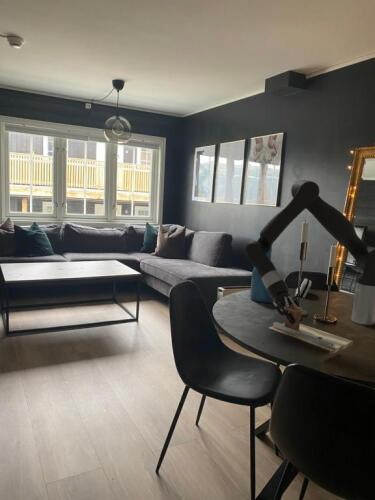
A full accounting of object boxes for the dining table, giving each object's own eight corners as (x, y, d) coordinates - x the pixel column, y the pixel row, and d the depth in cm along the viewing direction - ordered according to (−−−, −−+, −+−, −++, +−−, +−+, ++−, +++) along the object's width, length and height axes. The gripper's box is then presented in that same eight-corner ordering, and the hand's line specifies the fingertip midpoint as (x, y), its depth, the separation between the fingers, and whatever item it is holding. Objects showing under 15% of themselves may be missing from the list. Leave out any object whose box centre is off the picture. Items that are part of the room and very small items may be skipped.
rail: (275, 326, 150) (275, 321, 150) (334, 347, 132) (335, 342, 132) (272, 327, 149) (273, 321, 149) (332, 348, 131) (333, 343, 130)
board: (291, 324, 159) (292, 320, 159) (352, 345, 140) (353, 341, 139) (267, 331, 149) (268, 327, 148) (330, 354, 129) (330, 350, 129)
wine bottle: (281, 302, 193) (287, 243, 189) (261, 304, 186) (267, 243, 182) (262, 295, 204) (268, 239, 200) (243, 297, 197) (248, 239, 193)
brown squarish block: (290, 326, 150) (293, 304, 149) (299, 330, 147) (302, 308, 146) (283, 328, 148) (286, 306, 146) (292, 332, 145) (296, 309, 143)
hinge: (296, 290, 222) (303, 275, 219) (303, 293, 220) (311, 278, 218) (294, 296, 206) (303, 280, 203) (303, 300, 205) (311, 284, 202)
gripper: (269, 280, 146) (293, 320, 138) (291, 277, 155) (314, 315, 148) (257, 291, 150) (279, 330, 143) (279, 287, 160) (301, 324, 152)
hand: (297, 322), depth 145 cm, fingers closed on brown squarish block, 4 cm apart
